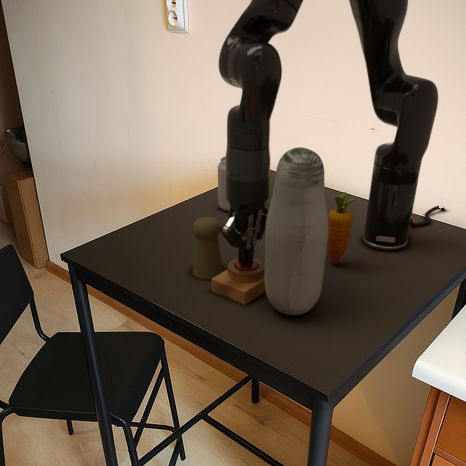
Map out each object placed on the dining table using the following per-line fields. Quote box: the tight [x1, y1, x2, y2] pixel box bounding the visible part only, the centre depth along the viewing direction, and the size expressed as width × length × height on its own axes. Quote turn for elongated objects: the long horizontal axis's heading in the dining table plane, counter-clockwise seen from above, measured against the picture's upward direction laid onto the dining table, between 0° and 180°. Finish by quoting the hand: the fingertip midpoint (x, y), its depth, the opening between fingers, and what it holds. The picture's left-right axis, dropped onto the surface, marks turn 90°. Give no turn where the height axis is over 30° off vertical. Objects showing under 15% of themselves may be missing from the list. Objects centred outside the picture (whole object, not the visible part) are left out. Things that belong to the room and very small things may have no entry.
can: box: [217, 155, 230, 213], centre depth 141 cm, size 8×8×12 cm
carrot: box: [327, 191, 356, 266], centre depth 115 cm, size 5×5×15 cm
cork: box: [192, 216, 224, 280], centre depth 114 cm, size 6×6×11 cm
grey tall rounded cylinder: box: [264, 147, 329, 316], centre depth 97 cm, size 10×10×28 cm
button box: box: [210, 257, 266, 305], centre depth 111 cm, size 8×11×4 cm
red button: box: [236, 261, 257, 271], centre depth 110 cm, size 4×4×2 cm
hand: (246, 264), depth 109 cm, fingers closed
